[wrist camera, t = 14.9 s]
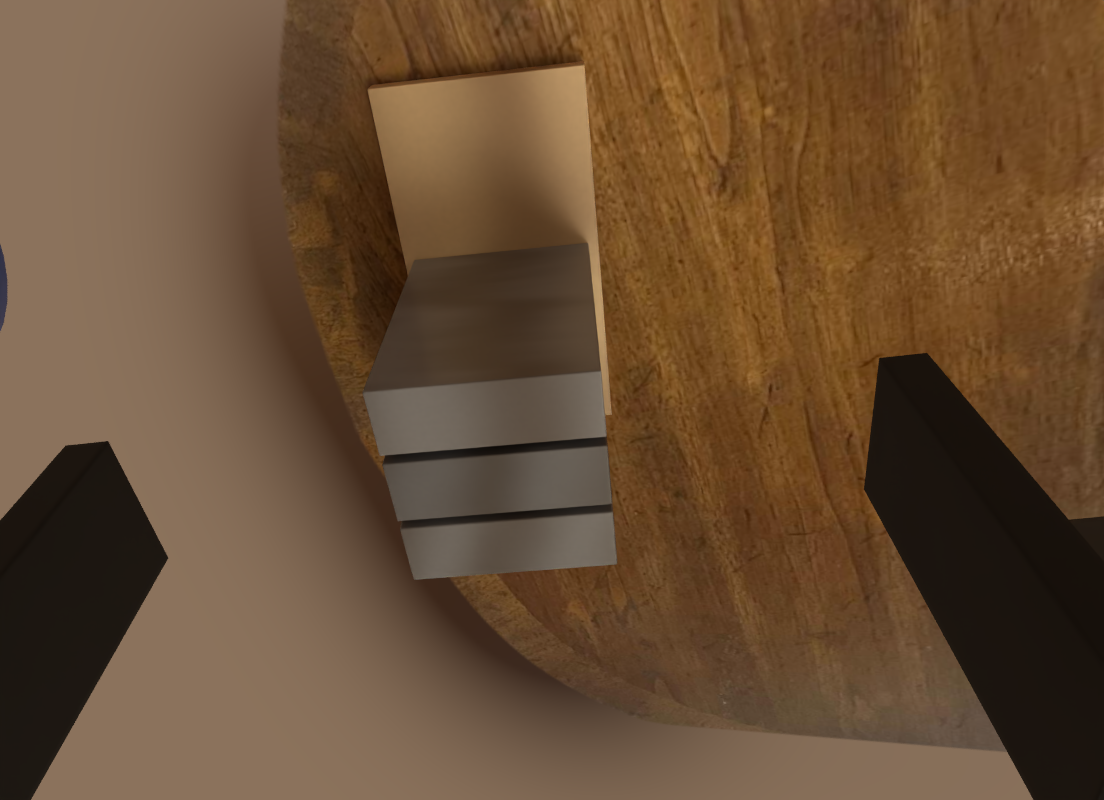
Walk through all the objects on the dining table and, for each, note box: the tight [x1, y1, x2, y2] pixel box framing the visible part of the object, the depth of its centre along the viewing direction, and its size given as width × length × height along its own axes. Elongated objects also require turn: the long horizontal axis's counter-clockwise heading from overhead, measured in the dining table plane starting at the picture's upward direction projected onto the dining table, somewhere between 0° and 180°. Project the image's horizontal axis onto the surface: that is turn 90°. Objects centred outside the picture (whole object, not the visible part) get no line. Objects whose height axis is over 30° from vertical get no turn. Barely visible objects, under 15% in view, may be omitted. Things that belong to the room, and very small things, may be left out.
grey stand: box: [363, 61, 617, 580], centre depth 36 cm, size 10×19×14 cm, turn 6°
